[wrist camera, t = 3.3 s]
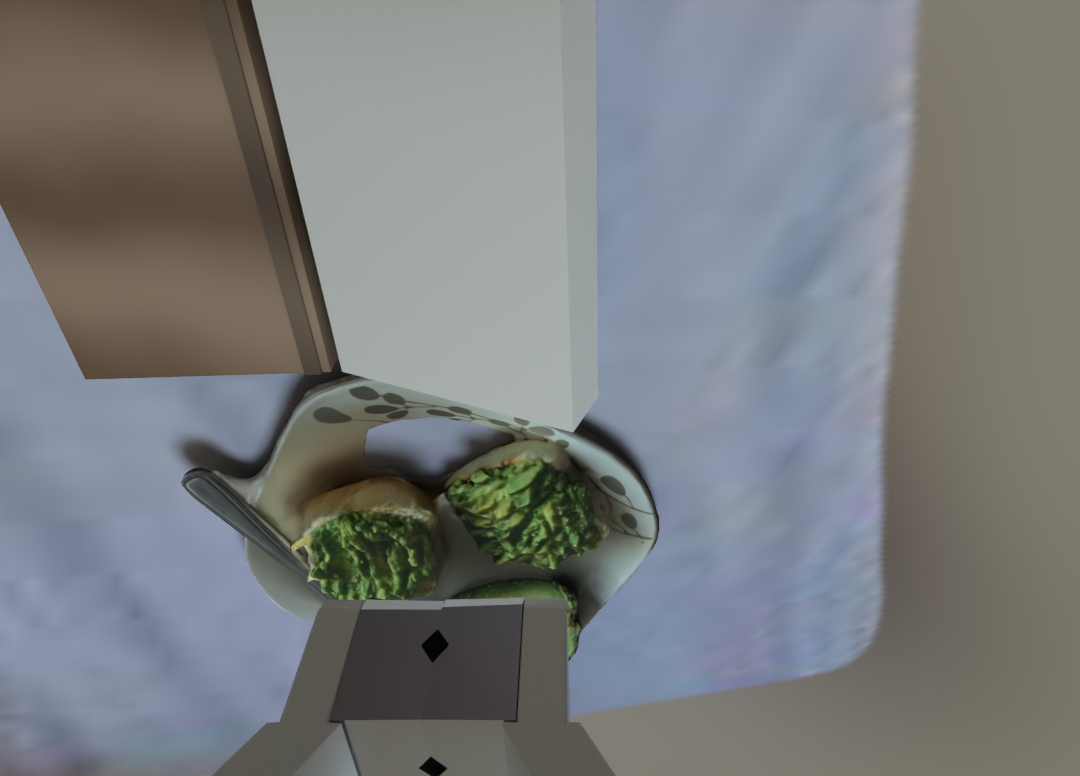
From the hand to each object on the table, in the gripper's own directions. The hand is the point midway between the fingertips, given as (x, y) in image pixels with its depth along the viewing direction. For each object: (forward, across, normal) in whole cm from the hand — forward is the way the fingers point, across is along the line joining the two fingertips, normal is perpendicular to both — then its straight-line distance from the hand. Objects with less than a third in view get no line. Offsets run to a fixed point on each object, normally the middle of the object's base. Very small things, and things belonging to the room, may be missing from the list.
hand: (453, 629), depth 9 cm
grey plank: (+16, +2, -1) cm, 16 cm away
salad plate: (+19, +4, +17) cm, 26 cm away
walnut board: (+18, +12, -1) cm, 21 cm away
